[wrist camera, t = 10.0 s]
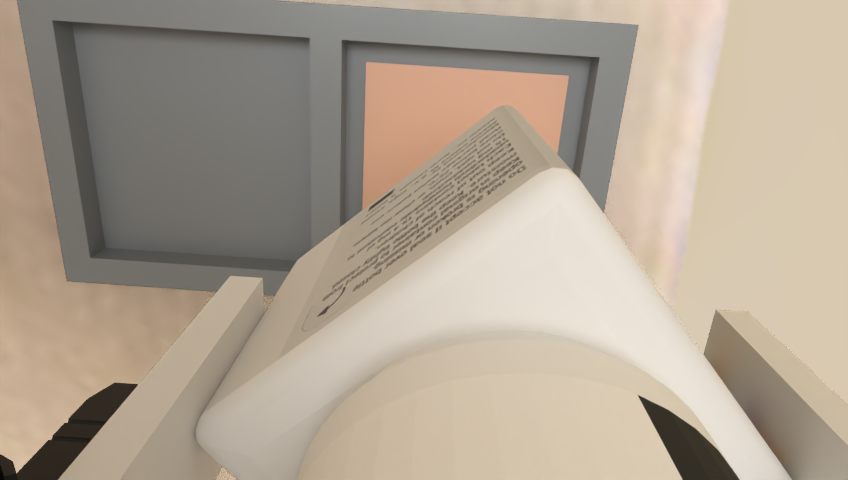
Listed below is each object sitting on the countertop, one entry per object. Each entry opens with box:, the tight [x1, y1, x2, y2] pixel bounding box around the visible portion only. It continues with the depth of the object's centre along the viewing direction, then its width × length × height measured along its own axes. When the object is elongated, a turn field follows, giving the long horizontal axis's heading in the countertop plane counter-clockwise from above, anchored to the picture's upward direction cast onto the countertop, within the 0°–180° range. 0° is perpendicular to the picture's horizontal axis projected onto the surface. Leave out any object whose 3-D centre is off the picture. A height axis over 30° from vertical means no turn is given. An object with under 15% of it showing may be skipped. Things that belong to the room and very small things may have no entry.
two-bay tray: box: [17, 0, 638, 296], centre depth 30 cm, size 28×15×2 cm, turn 86°
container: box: [195, 105, 792, 480], centre depth 11 cm, size 8×8×13 cm
